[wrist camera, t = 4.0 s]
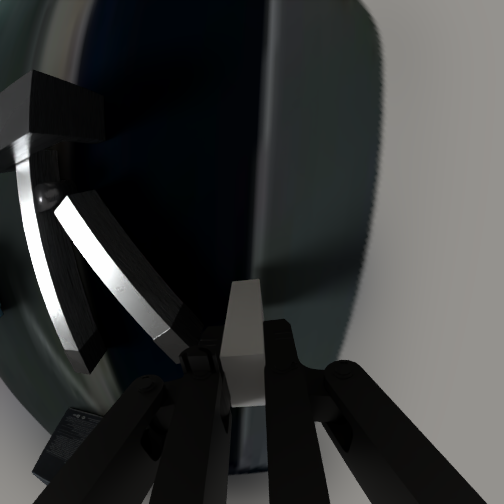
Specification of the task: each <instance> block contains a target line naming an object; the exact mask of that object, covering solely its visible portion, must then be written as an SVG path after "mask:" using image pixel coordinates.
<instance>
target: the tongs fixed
mask: <svg viewBox="0 0 504 504" xmlns="http://www.w3.org/2000/svg"><path fill="white" fill-rule="evenodd" d="M16 174H17V184H18V193H19V200H20V207H21V213H22V219H23V224H24V229H25V234H26V239H27V243H28V247H29V251H30V255H31V259H32V263H33V266H34V270H35V273H36V277H37V280H38V283H39V286H40V289H41V292H42V295H43V298H44V301H45V304H46V306H47V309H48V312H49V314H50V317H51V319H52V322H53V324H54V327H55V329H56V331H57V334H58V336H59V338H60V340H61V343H62V345H63V347H64V351H65V353H66V355H67V357H68V359H69V361H70V363H71V365H72V367H73V369H74V371H75V372H78V373H84V374H91V372H92V371H93V370H94V368H95V367H96V365H97V364H98V362H99V361H100V359H101V358H102V357H103V355H104V354H105V352H106V351H107V349H106V346H105V344H104V341H103V339H102V336H101V334H100V331H99V329H98V328H97V326H96V323H95V321H94V318H93V315H92V313H91V310H90V307H89V304H88V301H87V298H86V295H85V292H84V289H83V285H82V282H81V279H80V275H79V272H78V268H77V264H76V261H75V257H74V253H73V249H72V245H71V240H70V236H69V235H68V233H67V232H66V230H65V229H64V227H63V226H62V224H61V223H60V221H59V219H58V218H57V216H56V215H55V213H54V212H55V211H56V209H57V208H58V207H59V205H60V204H61V203H62V201H63V200H64V199H65V197H66V196H67V195H72V194H76V193H77V186H76V184H75V183H74V182H73V181H72V180H63V181H60V175H59V165H58V153H57V150H41V151H39V152H37V153H35V154H33V155H31V156H29V157H27V158H25V159H23V160H21V161H19V162H18V163H16Z"/></svg>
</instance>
